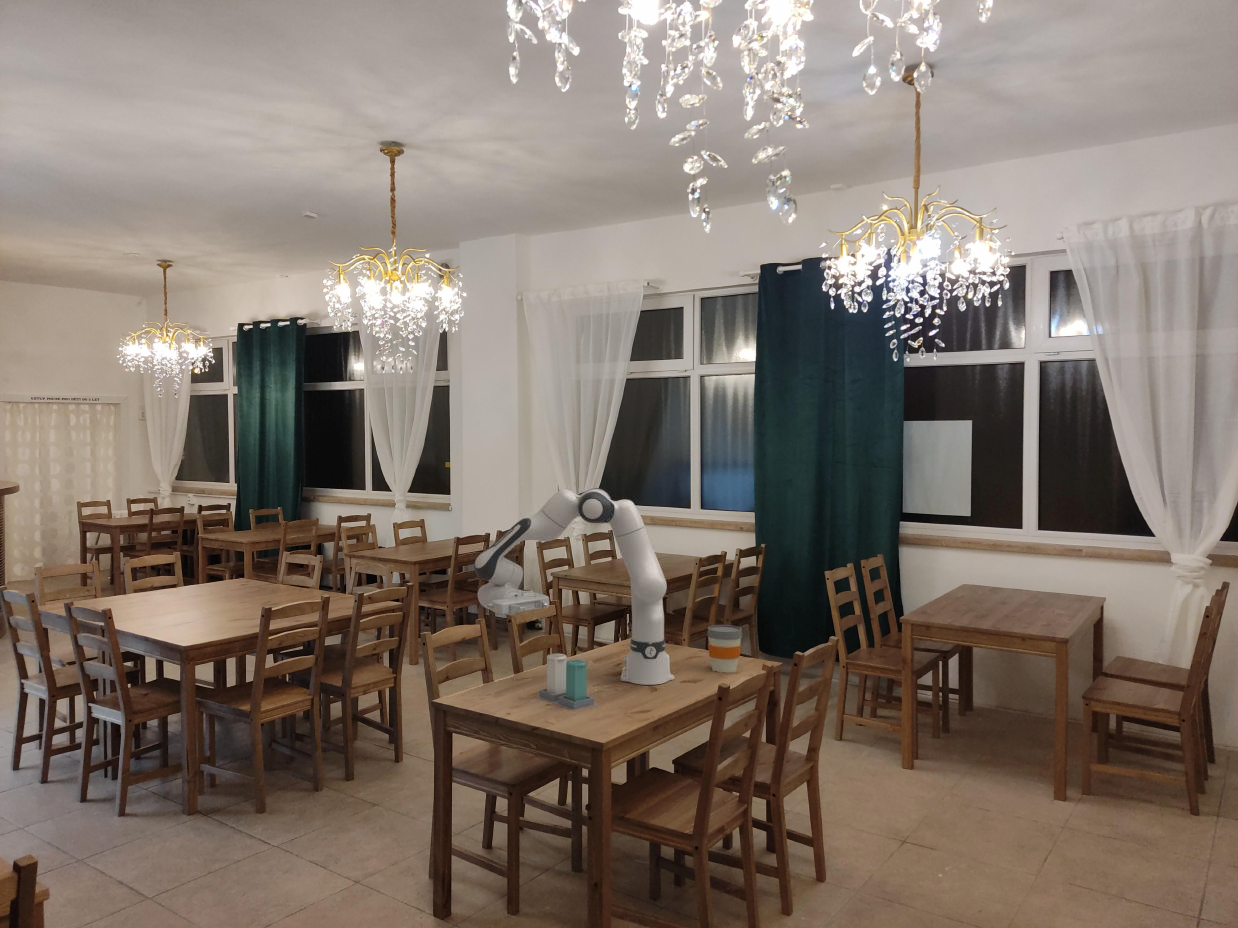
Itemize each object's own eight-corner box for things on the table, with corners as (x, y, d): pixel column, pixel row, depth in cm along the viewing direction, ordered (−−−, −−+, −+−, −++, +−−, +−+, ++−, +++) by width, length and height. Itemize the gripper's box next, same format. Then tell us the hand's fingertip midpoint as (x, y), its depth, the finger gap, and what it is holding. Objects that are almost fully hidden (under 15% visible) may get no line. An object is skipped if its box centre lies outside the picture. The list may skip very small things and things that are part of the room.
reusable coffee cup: (743, 666, 323) (744, 625, 323) (739, 675, 311) (740, 632, 311) (709, 663, 326) (710, 623, 326) (704, 672, 314) (704, 630, 314)
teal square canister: (563, 703, 271) (563, 661, 270) (577, 699, 275) (577, 658, 274) (574, 707, 267) (575, 665, 266) (589, 704, 270) (589, 662, 270)
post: (544, 696, 278) (544, 655, 278) (558, 692, 282) (558, 652, 282) (554, 700, 274) (555, 658, 274) (569, 696, 278) (569, 655, 278)
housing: (534, 700, 279) (534, 689, 278) (559, 694, 285) (559, 684, 285) (573, 715, 264) (573, 704, 263) (599, 709, 270) (599, 697, 270)
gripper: (484, 595, 290) (508, 601, 280) (534, 589, 303) (559, 594, 293) (484, 614, 290) (508, 621, 280) (534, 607, 304) (559, 613, 293)
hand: (534, 607), depth 287 cm, fingers open, 8 cm apart
